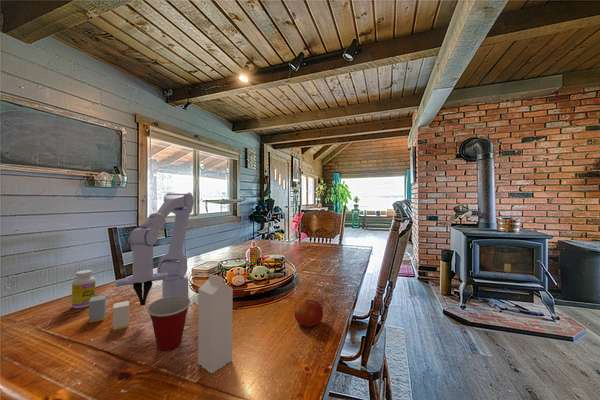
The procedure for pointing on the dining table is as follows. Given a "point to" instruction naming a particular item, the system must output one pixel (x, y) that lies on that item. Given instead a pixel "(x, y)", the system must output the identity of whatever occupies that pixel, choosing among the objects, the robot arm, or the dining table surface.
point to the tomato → (308, 313)
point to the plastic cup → (169, 320)
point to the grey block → (97, 308)
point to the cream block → (120, 315)
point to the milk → (214, 324)
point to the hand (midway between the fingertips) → (142, 304)
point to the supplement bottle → (83, 289)
